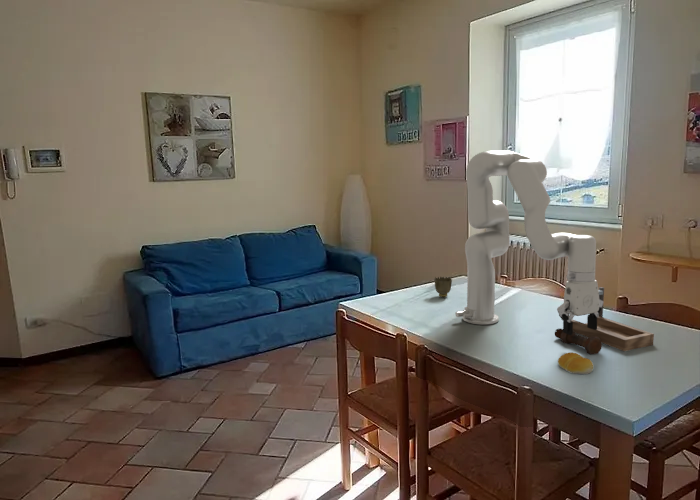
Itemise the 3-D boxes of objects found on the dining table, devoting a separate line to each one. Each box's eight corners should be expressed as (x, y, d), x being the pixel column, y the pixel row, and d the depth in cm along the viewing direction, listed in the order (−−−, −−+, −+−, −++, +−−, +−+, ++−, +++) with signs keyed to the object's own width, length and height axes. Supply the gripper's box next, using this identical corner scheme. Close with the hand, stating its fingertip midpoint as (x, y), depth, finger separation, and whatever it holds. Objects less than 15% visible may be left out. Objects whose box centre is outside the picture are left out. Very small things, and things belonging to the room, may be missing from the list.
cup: (453, 298, 213) (453, 280, 212) (435, 299, 213) (435, 280, 212) (450, 294, 220) (450, 276, 219) (433, 294, 220) (433, 276, 219)
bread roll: (577, 377, 135) (577, 363, 134) (552, 365, 143) (553, 351, 143) (601, 372, 138) (601, 358, 137) (575, 360, 146) (576, 347, 145)
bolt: (559, 343, 164) (597, 358, 150) (548, 338, 162) (585, 352, 149) (566, 327, 165) (605, 340, 151) (556, 321, 163) (593, 334, 149)
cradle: (618, 352, 150) (621, 310, 148) (562, 330, 171) (563, 292, 168) (658, 343, 156) (661, 302, 154) (599, 323, 177) (601, 287, 174)
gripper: (568, 282, 147) (567, 339, 150) (613, 275, 153) (611, 330, 156) (549, 277, 154) (548, 332, 157) (592, 271, 160) (591, 323, 163)
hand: (580, 331), depth 156 cm, fingers open, 9 cm apart
